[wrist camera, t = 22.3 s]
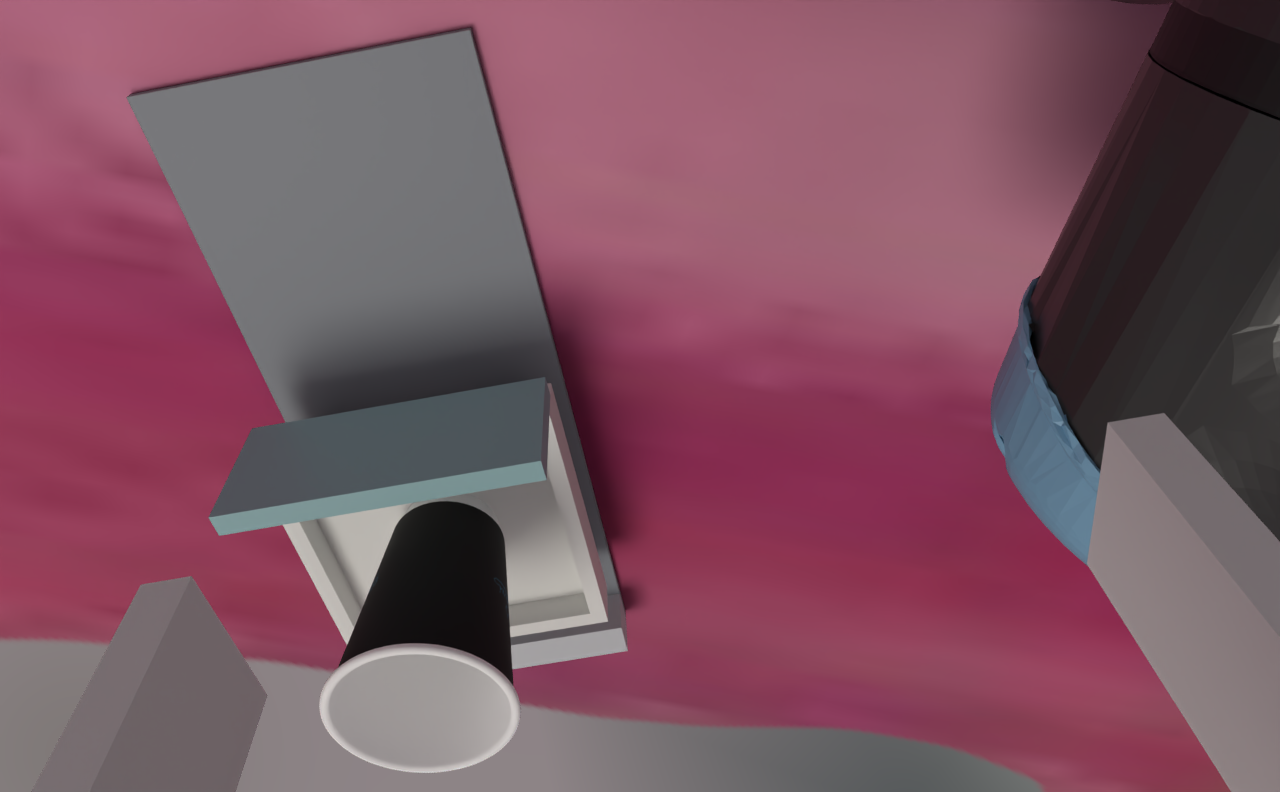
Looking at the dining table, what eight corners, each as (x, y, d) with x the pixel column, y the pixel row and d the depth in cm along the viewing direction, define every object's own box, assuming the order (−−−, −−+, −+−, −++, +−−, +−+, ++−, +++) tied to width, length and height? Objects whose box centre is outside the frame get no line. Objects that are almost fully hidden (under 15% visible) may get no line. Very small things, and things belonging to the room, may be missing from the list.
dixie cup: (335, 509, 45) (274, 698, 36) (469, 440, 43) (441, 621, 34) (435, 604, 49) (403, 796, 40) (562, 545, 47) (558, 731, 38)
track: (471, 27, 36) (463, 47, 34) (625, 611, 56) (627, 650, 53) (130, 94, 37) (98, 117, 35) (399, 647, 56) (391, 688, 54)
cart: (547, 342, 44) (540, 460, 36) (606, 560, 52) (610, 693, 45) (270, 391, 44) (208, 517, 37) (371, 598, 53) (338, 735, 45)
